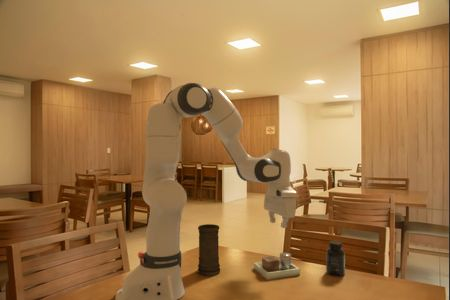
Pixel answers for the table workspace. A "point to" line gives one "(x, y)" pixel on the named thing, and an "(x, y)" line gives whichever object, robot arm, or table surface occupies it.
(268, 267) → the walnut block
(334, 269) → the supplement bottle
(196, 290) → the table surface
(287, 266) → the metal cylinder
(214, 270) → the container
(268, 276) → the tray
